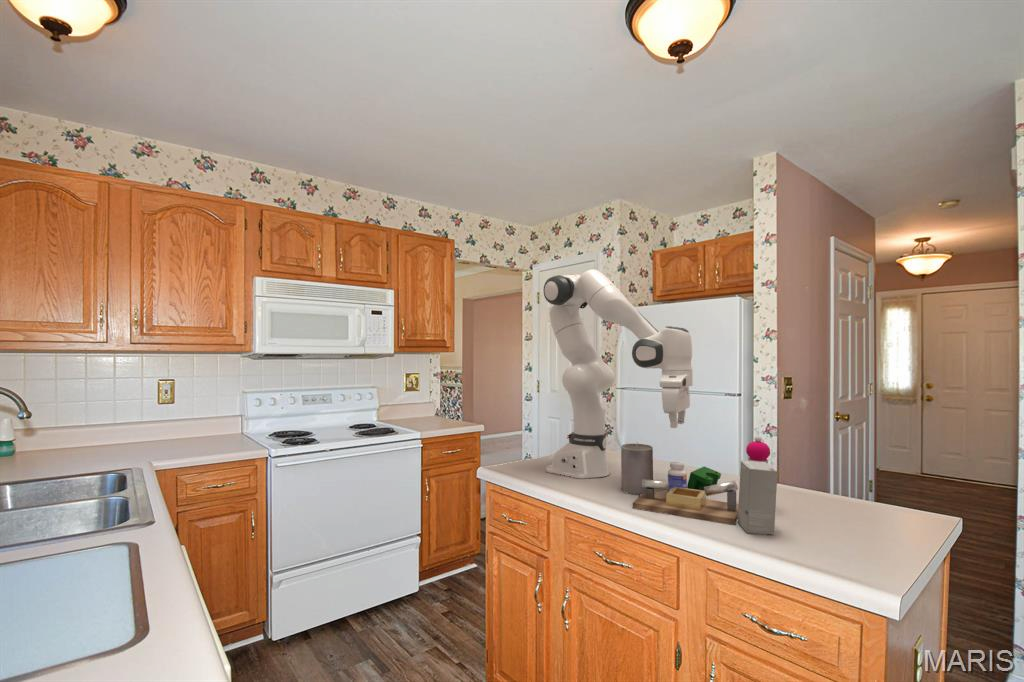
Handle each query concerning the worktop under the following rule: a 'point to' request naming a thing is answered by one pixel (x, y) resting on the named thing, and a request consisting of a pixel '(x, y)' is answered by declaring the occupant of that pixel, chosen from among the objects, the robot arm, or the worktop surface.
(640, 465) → the pillar candle
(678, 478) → the pill bottle
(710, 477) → the clamp
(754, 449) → the pepper mill
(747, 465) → the skincare box
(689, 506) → the shaft stand
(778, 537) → the worktop surface
